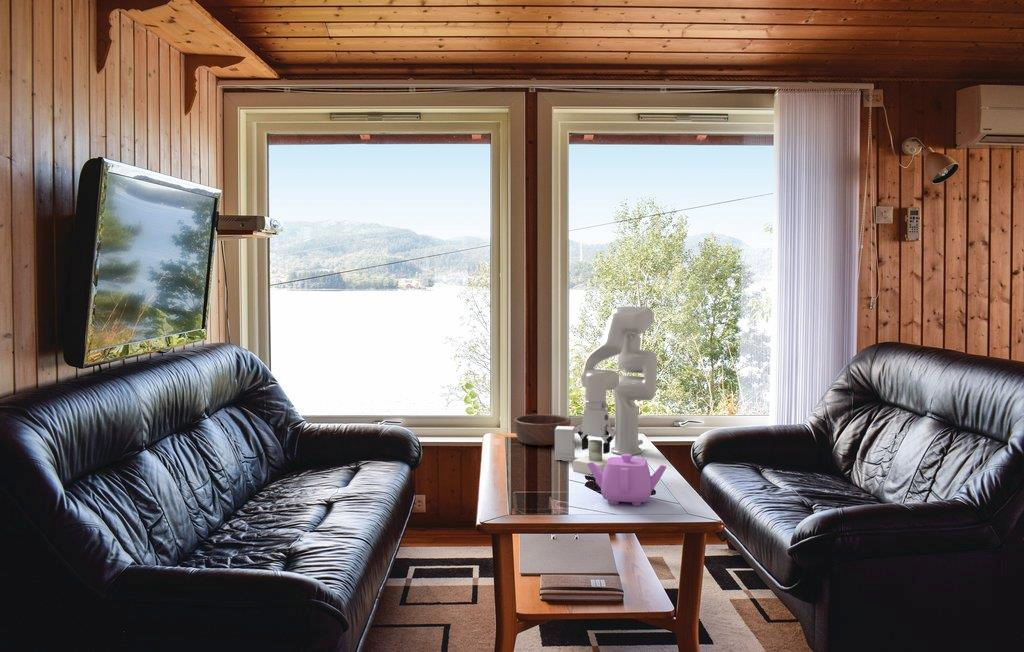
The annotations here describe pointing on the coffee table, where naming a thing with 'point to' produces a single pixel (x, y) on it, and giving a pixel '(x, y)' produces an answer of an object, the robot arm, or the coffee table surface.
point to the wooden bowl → (539, 428)
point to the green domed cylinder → (595, 450)
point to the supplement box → (565, 443)
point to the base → (582, 466)
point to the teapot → (626, 479)
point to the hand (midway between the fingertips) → (595, 451)
